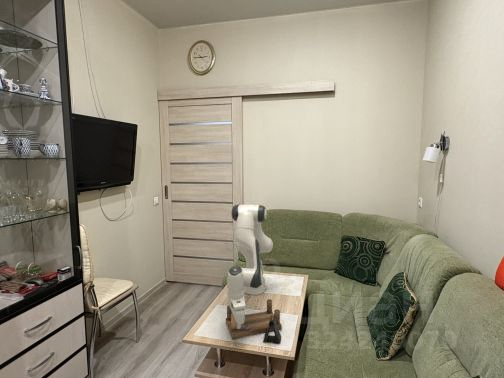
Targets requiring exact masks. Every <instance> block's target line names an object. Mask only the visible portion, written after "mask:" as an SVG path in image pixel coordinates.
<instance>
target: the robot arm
mask: <svg viewBox="0 0 504 378" xmlns="http://www.w3.org/2000/svg"><path fill="white" fill-rule="evenodd" d="M267 211H268V210H267V208H266V206H264V205H262V204H259V205H257V204H253V203H252V204H235V205H233V206H232V209H231V212H230V214H231V219H232V220H233V221H234V222H235V228H234V239H235V246H236V249H237V251H239V252H240V253H241V254H242V255H243V256H244V260H245V262H246V263H245V264H246V266H245V267H239V266H232V267H230V268H229V269H228V272H227V279H226V280H227V281H226V286H227V293H226V294H227V303H228V306H230V308H231V311H232V313H233V316H234V318H235V320H236V323H237V329H240V328H241V324H244V321H245V315H246V310H245V309H247V306H246V302H245V294H247V295H251V296H253V295H254V296H256V295H261V294H263V293H264V292H265V291H267V289H268V286H266V278H265V277H264V270H263V260H262V258H261V254H266V253H270V252H271V251H272V250H273V248H274V243H273V240H272V238H270V237H269V236H267V235H266V234H265V233H264V231H263V228H262V223H263V222H264V221H265V220H266V218H267V216H268V212H267Z"/></svg>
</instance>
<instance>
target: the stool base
mask: <svg viewBox="0 0 504 378" xmlns="http://www.w3.org/2000/svg"><path fill="white" fill-rule="evenodd" d="M231 313H232V311H231V308H230V306H229V305H227V306H226V317H225V324H226V327H227V329H228V332H229V335H230V337H231V339H232V340H236V339H242V338H246V337H247V338H249V337H252V336H258V335H262V334H265V333H266V330H267V328H268V325H269V321H270V317H271V316H272V320H273V317H274V316H275V317H276V323H277V326H278V329H279V331H282V330H283V329H282V328H283V327H282V326H283V325H282V323H281V310H280V309H279V308H277V309H274V310H273V300H272V299H266V310H265V311H259V312H254V313H247V314H245V321H244V324H241V325H245V326H246V325H249V326H250V329H249V330H246V329H232V328H231ZM269 333H274V331H273V328H270V331H269Z"/></svg>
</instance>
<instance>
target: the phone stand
mask: <svg viewBox="0 0 504 378" xmlns="http://www.w3.org/2000/svg"><path fill="white" fill-rule="evenodd" d="M270 328H273V331H274V332H273V333H274V335H269V334H270V332H269V331H270ZM280 331H281V330H279V329H278V326H277V323H276V317H275V316H274V317H273V320H272V316H271V317H270V321H269V325H268V328H267V330H266V333H264V336H263V339H262V343H268V344H275V345H281V342H282V334H281V332H280Z"/></svg>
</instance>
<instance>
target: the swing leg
mask: <svg viewBox="0 0 504 378" xmlns="http://www.w3.org/2000/svg"><path fill="white" fill-rule="evenodd" d="M231 328H232V329H237V323H236V320H235V318H234V316H233V313H231ZM240 329H246V330H249V329H250V326H249V325H246V326H245V325H241V328H240Z"/></svg>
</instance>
